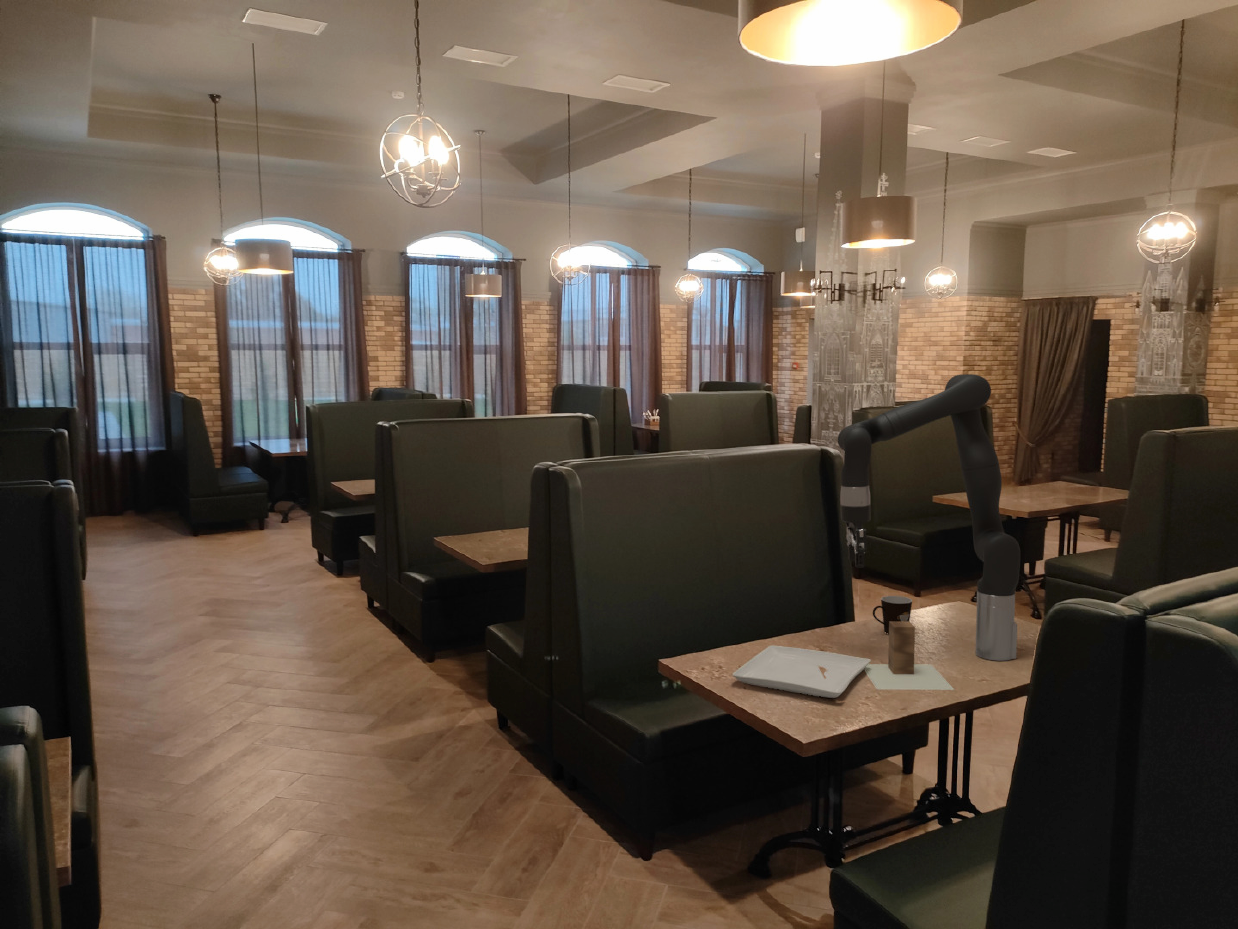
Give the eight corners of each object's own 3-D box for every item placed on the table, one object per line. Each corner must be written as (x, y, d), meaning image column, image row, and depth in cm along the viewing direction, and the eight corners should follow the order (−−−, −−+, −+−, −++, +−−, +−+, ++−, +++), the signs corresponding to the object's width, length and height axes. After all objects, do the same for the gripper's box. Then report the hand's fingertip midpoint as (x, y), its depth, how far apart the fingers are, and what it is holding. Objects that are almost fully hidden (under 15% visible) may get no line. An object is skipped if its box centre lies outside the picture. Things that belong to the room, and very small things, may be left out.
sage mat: (931, 666, 222) (931, 664, 222) (954, 692, 204) (954, 689, 204) (860, 666, 223) (860, 664, 223) (876, 691, 205) (876, 689, 205)
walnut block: (908, 667, 220) (909, 621, 219) (913, 674, 215) (914, 627, 214) (888, 667, 220) (889, 621, 219) (893, 674, 215) (894, 627, 214)
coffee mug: (907, 629, 255) (908, 596, 254) (914, 638, 246) (915, 603, 245) (867, 628, 256) (867, 595, 255) (872, 637, 247) (873, 603, 246)
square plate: (872, 672, 220) (872, 657, 219) (840, 708, 196) (841, 691, 196) (770, 656, 234) (770, 642, 233) (730, 688, 210) (730, 672, 210)
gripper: (876, 506, 218) (877, 569, 220) (864, 498, 232) (865, 557, 234) (846, 507, 219) (847, 570, 220) (835, 499, 233) (837, 558, 235)
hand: (856, 564), depth 227 cm, fingers open, 8 cm apart
